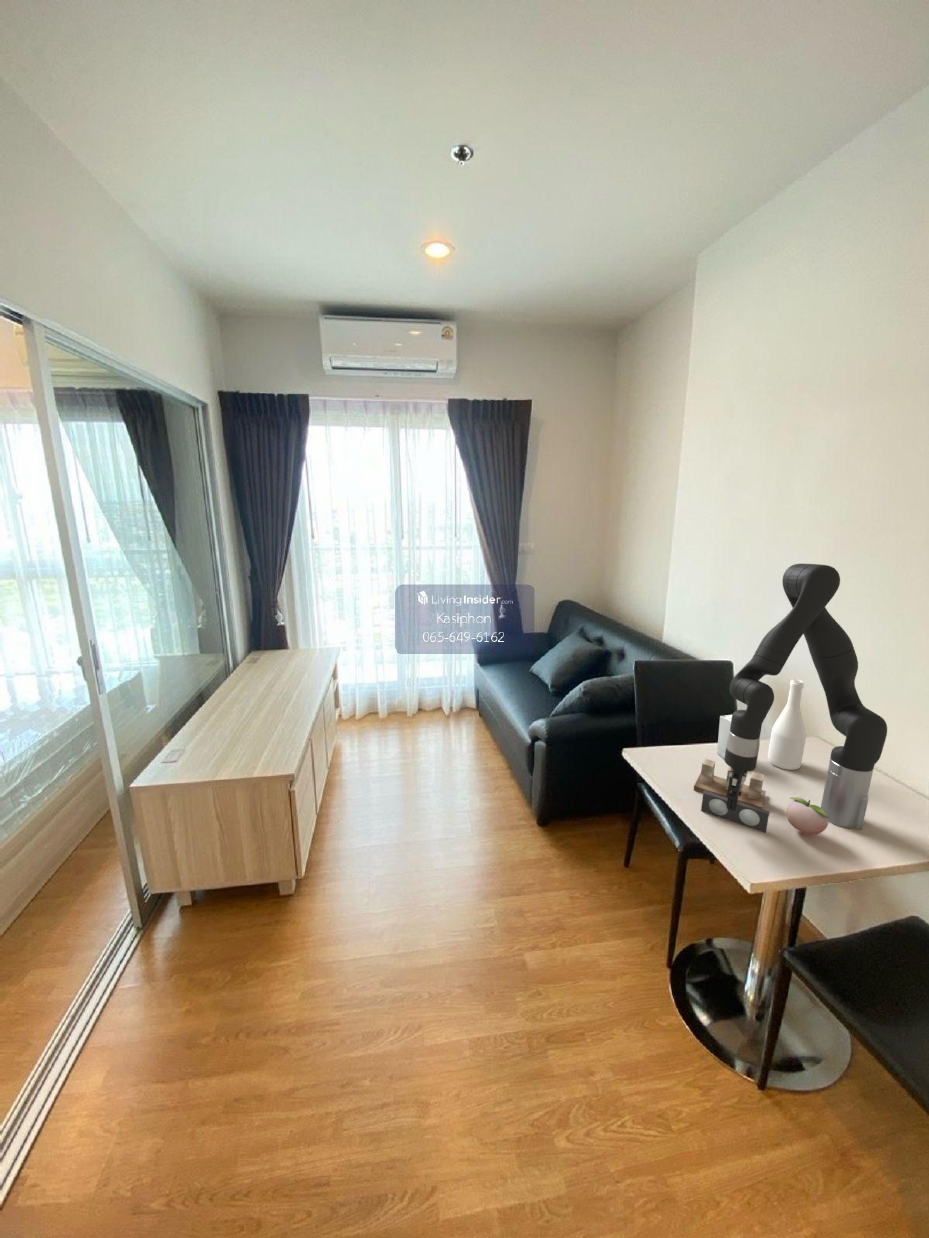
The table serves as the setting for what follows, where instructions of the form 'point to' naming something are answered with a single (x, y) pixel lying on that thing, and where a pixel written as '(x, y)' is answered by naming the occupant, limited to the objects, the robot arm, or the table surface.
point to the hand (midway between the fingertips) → (733, 801)
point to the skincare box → (723, 734)
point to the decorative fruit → (806, 816)
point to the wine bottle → (789, 732)
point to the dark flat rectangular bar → (735, 812)
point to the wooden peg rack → (720, 785)
